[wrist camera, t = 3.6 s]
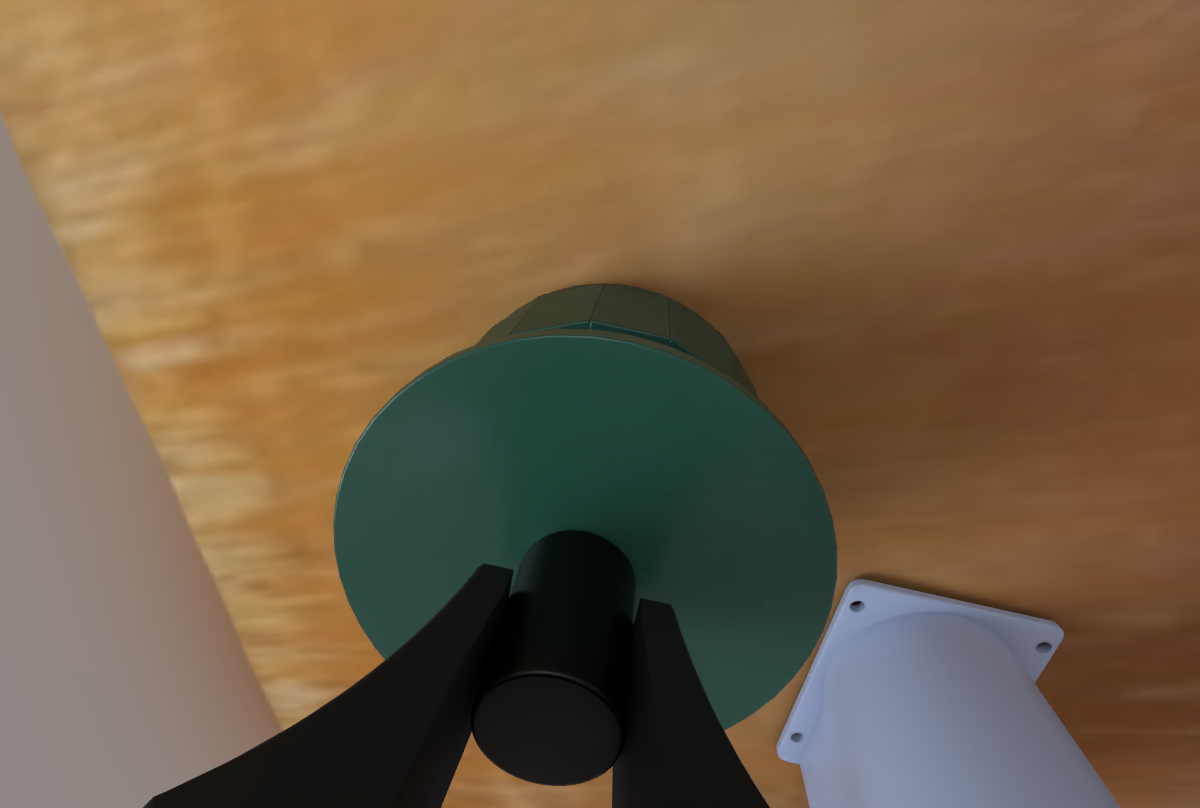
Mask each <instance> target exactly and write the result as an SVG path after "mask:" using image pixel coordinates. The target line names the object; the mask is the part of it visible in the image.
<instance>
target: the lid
mask: <svg viewBox="0 0 1200 808" xmlns="http://www.w3.org/2000/svg"><path fill="white" fill-rule="evenodd" d="M333 525H334V548H335V555H336V560H337V565H338V570H339V575H340V579H341V582H342V585H343V588H344V590H345V593H346V596H347V599H348V602H349V604H350V606H351V608H352V610H353V612H354V614H355V616H356V618H357V620H358V622H359V624H360V626H361V627H362V629H363V630H364V632H365V633H366V635H367V636H368V638H369V639H370V641H371V642H372V644H373V645H374V647H375V648H376V650H377V651H378V652H379V653H380V654H381V655H382V657H383V658H384V659H385V660H386V659H387V658H389V657H390V656H391V655H392V654H393V653H394V652H396V651H397V650H398V649H399V648H400V647H401V646H402V645H404V644H405V643H406V642H407V641H408V640H409V639H410V638H412V637H413V636H414V635H415V634H416V633H417V632H418V631H419V630H420V629H421V628H423V627H424V626H425V625H426V624H427V623H428V622H429V621H430V620H431V619H432V618H433V617H434V616H435V615H436V614H437V613H438V612H439V611H440V610H441V609H442V608H443V607H444V606H445V605H446V604H447V603H448V602H449V600H450V599H451V598H452V597H453V596H454V595H455V594H456V593H457V592H458V591H459V590H460V588H461V587H462V586H463V585H464V584H465V583H466V582H467V580H468V579H469V578H470V577H471V576H472V574H473V573H474V572H475V570H476V569H477V568H478V567H479V566H481V565H482V564H484V563H485V564H490V565H494V566H499V567H503V568H508V569H512V570H514V572H513V577H512V583H511V589H510V595H509V600H508V603H507V606H506V609H505V612H504V615H503V617H502V620H501V623H500V626H499V629H498V632H497V635H496V638H495V641H494V643H493V646H492V649H491V652H490V655H489V658H488V660H487V663H486V666H485V669H484V672H483V675H482V678H481V681H480V684H479V687H478V690H477V693H476V696H475V699H474V702H473V705H472V709H471V717H470V720H471V728H472V732H473V736H474V739H475V741H476V743H477V745H478V746H479V748H480V749H481V751H482V752H483V753H484V754H485V756H486V757H487V758H488V759H489V760H490V761H491V762H492V763H494V764H495V765H496V766H498V767H499V768H500V769H502V770H503V771H505V772H507V773H508V774H511V775H513V776H515V777H517V778H520V779H522V780H525V781H528V782H532V783H536V784H542V785H550V786H567V785H575V784H580V783H584V782H587V781H590V780H592V779H594V778H597V777H599V776H600V775H602V774H603V773H605V772H606V771H607V770H609V769H610V768H611V767H612V766H613V765H614V764H615V762H616V761H617V760H618V758H619V756H620V755H621V753H622V751H623V748H624V746H625V741H626V731H627V715H628V698H629V682H630V663H631V646H632V630H633V623H634V620H635V616H636V613H637V609H638V605H639V602H640V598H644V599H648V600H653V601H657V602H662V603H666V604H670V605H671V606H672V608H673V609H674V611H675V615H676V618H677V621H678V624H679V627H680V630H681V633H682V636H683V639H684V641H685V644H686V647H687V649H688V652H689V655H690V657H691V660H692V662H693V665H694V667H695V670H696V672H697V674H698V676H699V679H700V681H701V683H702V686H703V688H704V690H705V692H706V695H707V697H708V699H709V701H710V703H711V705H712V707H713V710H714V712H715V714H716V716H717V718H718V720H719V722H720V724H721V726H722V727H723V729H724V730H725V729H727V728H730V727H731V726H733V725H735V724H737V723H738V722H740V721H742V720H743V719H745V718H747V717H748V716H750V715H752V714H753V713H755V712H756V711H757V710H759V709H760V708H761V707H762V706H764V705H765V704H766V703H767V702H769V701H770V700H771V699H773V698H774V697H775V696H776V695H777V694H778V693H779V692H780V691H781V690H782V689H783V688H784V687H785V686H786V685H787V684H788V683H789V682H790V681H791V680H792V679H793V678H794V677H795V675H796V674H797V673H798V671H799V670H800V669H801V667H802V666H803V665H804V663H805V662H806V661H807V659H808V658H809V656H810V655H811V653H812V651H813V649H814V647H815V646H816V644H817V642H818V640H819V638H820V636H821V634H822V632H823V630H824V627H825V624H826V621H827V618H828V615H829V612H830V610H831V607H832V603H833V597H834V591H835V585H836V580H837V544H836V538H835V531H834V525H833V519H832V516H831V513H830V510H829V506H828V503H827V500H826V497H825V494H824V491H823V489H822V486H821V484H820V482H819V480H818V478H817V476H816V474H815V472H814V470H813V468H812V466H811V464H810V462H809V460H808V459H807V457H806V455H805V453H804V451H803V450H802V448H801V447H800V446H799V444H798V443H797V441H796V440H795V439H794V437H793V436H792V434H791V433H790V432H789V430H788V429H787V427H786V426H785V425H784V424H783V423H782V422H781V421H780V420H779V419H778V418H777V417H776V416H775V414H774V413H773V412H772V411H771V410H770V409H769V408H768V407H767V406H766V405H765V404H764V403H763V402H762V401H761V400H760V399H758V398H757V397H756V396H755V395H753V394H752V393H751V392H750V391H748V390H747V389H746V388H744V387H743V386H742V385H741V384H739V383H738V382H737V381H736V380H734V379H733V378H731V377H730V376H728V375H726V374H724V373H723V372H721V371H719V370H718V369H716V368H714V367H713V366H711V365H709V364H708V363H706V362H704V361H702V360H700V359H698V358H696V357H693V356H691V355H689V354H686V353H684V352H682V351H679V350H677V349H675V348H672V347H670V346H667V345H664V344H660V343H657V342H653V341H650V340H646V339H643V338H639V337H636V336H632V335H626V334H620V333H613V332H606V331H600V330H589V329H550V330H541V331H531V332H522V333H517V334H513V335H509V336H505V337H500V338H496V339H492V340H488V341H485V342H482V343H480V344H477V345H475V346H472V347H469V348H467V349H464V350H462V351H459V352H457V353H454V354H452V355H451V356H449V357H447V358H445V359H444V360H442V361H440V362H438V363H437V364H435V365H433V366H431V367H430V368H428V369H426V370H425V371H423V372H422V373H421V374H419V375H418V376H417V377H416V378H414V379H413V380H412V381H411V382H409V383H408V384H407V385H405V386H404V387H403V388H402V389H400V390H399V391H398V392H397V393H396V394H395V395H394V396H393V397H392V398H391V399H390V400H389V401H388V402H387V403H386V404H385V406H384V407H383V408H382V409H381V410H380V411H379V412H378V413H377V414H376V415H375V416H374V417H373V418H372V420H371V421H370V423H369V424H368V426H367V427H366V429H365V430H364V432H363V433H362V435H361V436H360V438H359V439H358V441H357V442H356V444H355V446H354V448H353V450H352V453H351V455H350V457H349V459H348V461H347V463H346V466H345V468H344V471H343V474H342V478H341V481H340V485H339V489H338V492H337V496H336V505H335V514H334V523H333Z"/></svg>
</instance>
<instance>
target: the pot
mask: <svg viewBox="0 0 1200 808" xmlns="http://www.w3.org/2000/svg"><path fill="white" fill-rule="evenodd" d="M550 329H589V330H600V331H606V332H613V333H620V334H626V335H632V336H636V337H639V338H643V339H646V340H650V341H653V342H657V343H660V344H664V345H667V346H670V347H672V348H675V349H677V350H679V351H682V352H684V353H686V354H689V355H691V356H693V357H696V358H698V359H700V360H702V361H704V362H706V363H708V364H709V365H711V366H713V367H714V368H716V369H718V370H719V371H721V372H723V373H724V374H726V375H728V376H730V377H731V378H733V379H734V380H736V381H737V382H738V383H739V384H741V385H742V386H743V387H744V388H746V389H747V390H748V391H750V392H751V393H752V394H753V395H755V396H756V397H757V398H758V396H757V393H756V390H755V388H754V385H753V383H752V382H751V380H750V379H749V377H748V375H747V374H746V372H745V370H744V369H743V367H742V365H741V363H740V361H739V359H738V357H737V356H736V354H735V353H734V351H733V350H732V349H731V347H730V346H729V344H728V343H727V341H726V339H725V338H724V336H722V334H721V333H720V332H718V331H717V330H715V329H714V328H713V327H712V326H711V325H710V324H709V323H708V322H706V321H705V320H704V319H703V318H701V317H700V316H699V315H698V314H696V313H695V312H693V311H692V310H690V309H688V308H687V307H685V306H683V305H682V304H680V303H678V302H676V301H674V300H672V299H670V298H668V297H665V296H663V295H660V294H658V293H655V292H651V291H648V290H644V289H641V288H637V287H630V286H624V285H617V284H591V285H582V286H574V287H570V288H566V289H562V290H558V291H554V292H552V293H549V294H543V295H542V296H539V297H537V298H536V299H534V300H533V301H531V302H529V303H527V304H526V305H524V306H522V307H520V308H519V309H517V310H516V311H515V312H513V313H512V314H511V315H509V316H508V317H507V318H505V319H504V320H502V321H501V322H499V323H498V324H496V325H495V326H493V327H492V328H491V329H490V330H489V331H488V332H487V333H486V334H485V335H484V336H483V338H482V339H481V340H480V341H479V342H478V343H477V344H480V343H482V342H485V341H488V340H492V339H496V338H500V337H505V336H509V335H513V334H517V333H522V332H531V331H541V330H550ZM477 344H476V345H477ZM758 399H759V398H758Z"/></svg>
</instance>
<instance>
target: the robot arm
mask: <svg viewBox="0 0 1200 808" xmlns="http://www.w3.org/2000/svg"><path fill="white" fill-rule="evenodd" d="M513 572H514V570H512V569H508V568H503V567H499V566H494V565H490V564H485V563H484V564H482V565H481V566H479V567H478V568H477V569H476V570H475V572H474V573H473V574H472V576H471V577H470V578H469V579H468V580H467V582H466V583H465V584H464V585H463V586H462V587H461V588H460V590H459V591H458V592H457V593H456V594H455V595H454V596H453V597H452V598H451V599H450V600H449V602H448V603H447V604H446V605H445V606H444V607H443V608H442V609H441V610H440V611H439V612H438V613H437V614H436V615H435V616H434V617H433V618H432V619H431V620H430V621H429V622H428V623H427V624H426V625H425V626H424V627H423V628H421V629H420V630H419V631H418V632H417V633H416V634H415V635H414V636H413V637H412V638H410V639H409V640H408V641H407V642H406V643H405V644H404V645H402V646H401V647H400V648H399V649H398V650H397V651H396V652H394V653H393V654H392V655H391V656H390V657H389V658H387V659H386V660H385V661H384V662H383V663H381V664H380V665H379V666H378V667H376V668H375V669H374V670H373V671H371V672H370V673H369V674H367V675H366V676H365V677H364V678H362V679H361V680H359V681H358V682H357V683H355V684H354V685H353V686H351V687H350V688H349V689H347V690H346V691H344V692H343V693H342V694H340V695H339V696H337V697H336V698H334V699H333V700H331V701H330V702H328V703H327V704H325V705H324V706H322V707H321V708H319V709H318V710H316V711H315V712H313V713H312V714H310V715H309V716H307V717H306V718H304V719H302V720H301V721H299V722H298V723H296V724H294V725H293V726H291V727H290V728H288V729H286V730H284V731H282V732H281V733H279V734H277V735H275V736H274V737H272V738H270V739H268V740H267V741H265V742H263V743H261V744H259V745H258V746H256V747H254V748H253V749H251V750H249V751H247V752H246V753H244V754H242V755H240V756H238V757H236V758H234V759H232V760H230V761H229V762H227V763H225V764H223V765H221V766H219V767H216V768H214V769H212V770H210V771H208V772H206V773H204V774H202V775H200V776H198V777H196V778H193V779H191V780H189V781H187V782H185V783H183V784H181V785H179V786H177V787H175V788H173V789H171V790H169V791H166V792H164V793H162V794H159V795H157V796H155V797H153V798H152V799H151V800H150V801H149V802H148V803H147V804H146V805H145V806H144V807H143V808H441V806H442V803H443V801H444V798H445V796H446V793H447V791H448V789H449V786H450V784H451V781H452V779H453V776H454V774H455V771H456V769H457V766H458V764H459V761H460V759H461V757H462V754H463V752H464V749H465V747H466V744H467V742H468V739H469V737H470V734H471V732H472V728H471V720H470V717H471V709H472V705H473V702H474V699H475V696H476V693H477V690H478V687H479V684H480V681H481V678H482V675H483V672H484V669H485V666H486V663H487V660H488V658H489V655H490V652H491V649H492V646H493V643H494V641H495V638H496V635H497V632H498V629H499V626H500V623H501V620H502V617H503V615H504V612H505V609H506V606H507V603H508V600H509V595H510V589H511V583H512V577H513ZM855 601H861V602H860V603H859V604H857V605H851V604H852V603H853V602H855ZM1063 638H1064V631H1063V630H1062V629H1061V628H1060V627H1059V625H1058V624H1057V623H1056V622H1053V621H1051V620H1046V619H1042V618H1037V617H1033V616H1028V615H1024V614H1019V613H1015V612H1010V611H1006V610H1001V609H997V608H992V607H988V606H983V605H979V604H974V603H970V602H965V601H961V600H956V599H951V598H947V597H942V596H938V595H933V594H929V593H924V592H920V591H915V590H911V589H906V588H902V587H897V586H893V585H888V584H884V583H879V582H875V581H870V580H866V579H857V580H853V581H852V582H850V583H849V584H848V586H847V587H846V589H845V591H844V594H843V596H842V598H841V600H840V603H839V605H838V607H837V609H836V612H835V614H834V616H833V618H832V621H831V623H830V625H829V627H828V630H827V632H826V634H825V636H824V639H823V641H822V643H821V645H820V648H819V650H818V652H817V654H816V657H815V659H814V661H813V664H812V666H811V668H810V670H809V673H808V675H807V677H806V679H805V682H804V684H803V686H802V688H801V691H800V693H799V695H798V697H797V700H796V702H795V704H794V706H793V709H792V711H791V713H790V715H789V718H788V720H787V722H786V724H785V727H784V729H783V731H782V733H781V736H780V738H779V740H778V742H777V745H776V749H777V754H778V756H779V758H780V759H782V760H784V761H787V762H791V763H796V764H800V767H801V771H802V776H803V780H804V785H805V789H806V794H807V798H808V803H809V807H810V808H1121V807H1120V806H1119V804H1118V803H1117V801H1116V800H1115V798H1114V797H1113V795H1112V794H1111V793H1110V791H1109V790H1108V788H1107V787H1106V785H1105V784H1104V782H1103V781H1102V780H1101V778H1100V777H1099V775H1098V774H1097V772H1096V771H1095V769H1094V768H1093V767H1092V765H1091V764H1090V762H1089V761H1088V759H1087V758H1086V756H1085V755H1084V754H1083V752H1082V751H1081V749H1080V748H1079V746H1078V745H1077V743H1076V742H1075V741H1074V739H1073V738H1072V736H1071V735H1070V733H1069V732H1068V730H1067V729H1066V728H1065V726H1064V725H1063V723H1062V722H1061V720H1060V719H1059V717H1058V716H1057V715H1056V713H1055V712H1054V710H1053V709H1052V707H1051V706H1050V704H1049V703H1048V702H1047V700H1046V699H1045V697H1044V696H1043V694H1042V693H1041V691H1040V690H1039V689H1038V687H1037V686H1036V684H1035V682H1036V681H1037V679H1038V677H1039V676H1040V674H1041V673H1042V671H1043V670H1044V668H1045V667H1046V665H1047V663H1048V662H1049V660H1050V659H1051V657H1052V656H1053V654H1054V653H1055V651H1056V649H1057V648H1058V646H1059V645H1060V643H1061V642H1062V640H1063ZM1043 642H1044V643H1043ZM1040 643H1043V644H1041V645H1038V644H1040ZM795 733H798V734H795ZM612 808H770V807H769V805H768V804H767V802H766V801H765V799H764V798H763V796H762V795H761V793H760V792H759V790H758V789H757V787H756V786H755V784H754V782H753V781H752V779H751V777H750V776H749V774H748V772H747V771H746V769H745V767H744V766H743V764H742V762H741V761H740V759H739V757H738V755H737V754H736V752H735V750H734V748H733V746H732V745H731V743H730V741H729V739H728V737H727V735H726V733H725V731H724V729H723V727H722V726H721V724H720V722H719V720H718V718H717V716H716V714H715V712H714V710H713V707H712V705H711V703H710V701H709V699H708V697H707V695H706V692H705V690H704V688H703V686H702V683H701V681H700V679H699V676H698V674H697V672H696V670H695V667H694V665H693V662H692V660H691V657H690V655H689V652H688V649H687V647H686V644H685V641H684V639H683V636H682V633H681V630H680V627H679V624H678V621H677V618H676V615H675V611H674V609H673V608H672V606H671V605H670V604H666V603H662V602H657V601H653V600H648V599H644V598H640V602H639V605H638V609H637V613H636V616H635V620H634V623H633V630H632V646H631V663H630V682H629V698H628V715H627V731H626V741H625V746H624V748H623V751H622V753H621V755H620V756H619V758H618V760H617V761H616V762H615V764H614V765H613V785H612Z"/></svg>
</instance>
